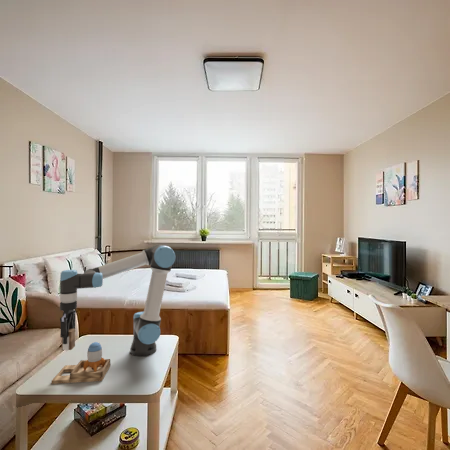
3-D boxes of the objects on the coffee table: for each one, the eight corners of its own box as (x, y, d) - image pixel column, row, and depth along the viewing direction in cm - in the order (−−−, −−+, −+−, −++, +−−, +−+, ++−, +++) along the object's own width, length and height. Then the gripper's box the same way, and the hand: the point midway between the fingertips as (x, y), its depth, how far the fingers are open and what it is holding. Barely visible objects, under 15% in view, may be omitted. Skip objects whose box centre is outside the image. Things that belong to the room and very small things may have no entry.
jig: (110, 366, 156) (110, 358, 156) (102, 380, 141) (102, 372, 141) (65, 368, 153) (65, 360, 153) (51, 383, 138) (51, 375, 138)
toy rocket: (99, 377, 143) (92, 349, 141) (79, 379, 144) (72, 352, 142) (109, 364, 153) (103, 338, 151) (91, 366, 154) (84, 340, 152)
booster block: (74, 346, 149) (75, 328, 149) (71, 349, 144) (71, 331, 144) (65, 346, 148) (65, 328, 148) (61, 350, 144) (61, 332, 144)
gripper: (67, 297, 154) (67, 341, 154) (52, 306, 137) (51, 355, 137) (82, 296, 155) (82, 340, 155) (69, 305, 138) (68, 355, 138)
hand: (68, 347), depth 146 cm, fingers closed on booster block, 4 cm apart
